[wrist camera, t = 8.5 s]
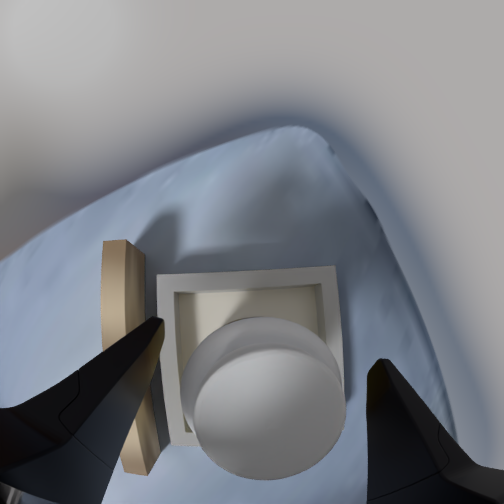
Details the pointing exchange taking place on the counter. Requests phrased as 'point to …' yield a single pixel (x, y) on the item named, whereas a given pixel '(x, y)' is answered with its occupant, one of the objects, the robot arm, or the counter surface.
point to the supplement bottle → (263, 398)
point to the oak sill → (117, 326)
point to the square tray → (237, 307)
